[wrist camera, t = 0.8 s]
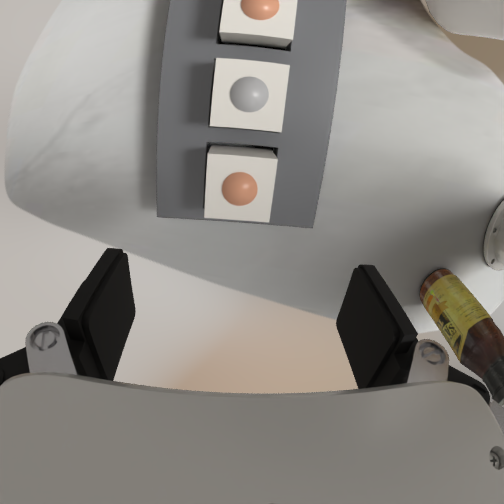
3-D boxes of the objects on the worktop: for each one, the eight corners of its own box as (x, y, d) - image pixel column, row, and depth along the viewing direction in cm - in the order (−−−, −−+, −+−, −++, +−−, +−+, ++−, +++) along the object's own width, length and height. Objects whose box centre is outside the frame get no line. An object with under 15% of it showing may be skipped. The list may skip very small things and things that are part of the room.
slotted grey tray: (336, 1, 19) (347, -7, 16) (305, 215, 29) (312, 228, 27) (181, -15, 17) (175, -26, 15) (164, 205, 28) (157, 217, 25)
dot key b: (290, -2, 17) (299, -18, 14) (284, 48, 20) (293, 39, 16) (228, -9, 17) (227, -26, 13) (222, 42, 19) (219, 31, 16)
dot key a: (271, 149, 24) (278, 159, 21) (264, 204, 27) (269, 223, 23) (212, 144, 24) (207, 153, 20) (208, 200, 26) (204, 218, 22)
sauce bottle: (411, 285, 35) (488, 406, 18) (446, 257, 33) (535, 365, 16) (424, 311, 37) (488, 419, 20) (456, 286, 36) (529, 385, 18)
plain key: (281, 70, 21) (290, 65, 17) (274, 126, 23) (281, 132, 20) (219, 64, 20) (216, 57, 17) (214, 121, 23) (209, 126, 19)
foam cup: (397, -15, 17) (478, -48, 6) (442, -34, 14) (517, -56, 3) (448, 58, 21) (540, 64, 9) (486, 32, 18) (566, 34, 7)
